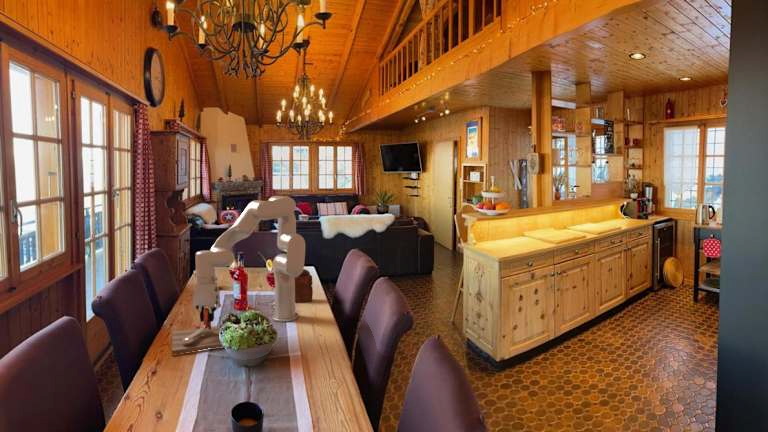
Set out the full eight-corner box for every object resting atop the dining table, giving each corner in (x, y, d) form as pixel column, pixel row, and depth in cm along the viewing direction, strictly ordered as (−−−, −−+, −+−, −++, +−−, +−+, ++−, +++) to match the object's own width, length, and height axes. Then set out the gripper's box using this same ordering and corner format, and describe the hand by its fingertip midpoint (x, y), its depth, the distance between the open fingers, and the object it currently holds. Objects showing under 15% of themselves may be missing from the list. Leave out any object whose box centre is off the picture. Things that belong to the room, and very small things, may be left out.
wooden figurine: (311, 298, 253) (311, 267, 251) (312, 302, 247) (312, 269, 245) (290, 300, 250) (289, 268, 248) (291, 303, 244) (290, 271, 242)
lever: (205, 329, 197) (204, 307, 196) (213, 330, 196) (212, 308, 195) (180, 345, 180) (179, 320, 179) (190, 345, 179) (189, 321, 178)
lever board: (172, 336, 196) (172, 331, 195) (219, 330, 204) (219, 325, 203) (172, 355, 176) (171, 350, 176) (223, 348, 184) (223, 342, 183)
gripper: (227, 278, 195) (229, 319, 197) (193, 276, 198) (195, 316, 200) (218, 282, 188) (219, 325, 190) (183, 280, 191) (184, 322, 193)
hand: (207, 320), depth 195 cm, fingers closed on lever, 3 cm apart
